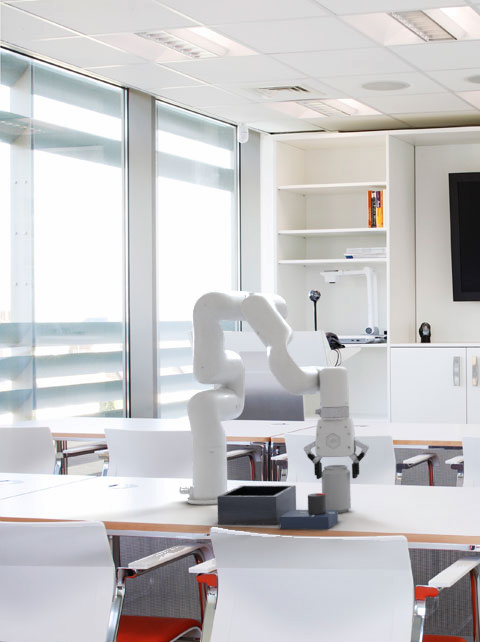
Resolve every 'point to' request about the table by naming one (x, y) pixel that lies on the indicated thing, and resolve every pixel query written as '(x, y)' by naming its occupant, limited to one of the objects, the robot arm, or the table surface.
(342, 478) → the can
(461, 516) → the table surface
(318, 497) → the tap knob
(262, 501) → the open storage bin
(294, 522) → the panel
